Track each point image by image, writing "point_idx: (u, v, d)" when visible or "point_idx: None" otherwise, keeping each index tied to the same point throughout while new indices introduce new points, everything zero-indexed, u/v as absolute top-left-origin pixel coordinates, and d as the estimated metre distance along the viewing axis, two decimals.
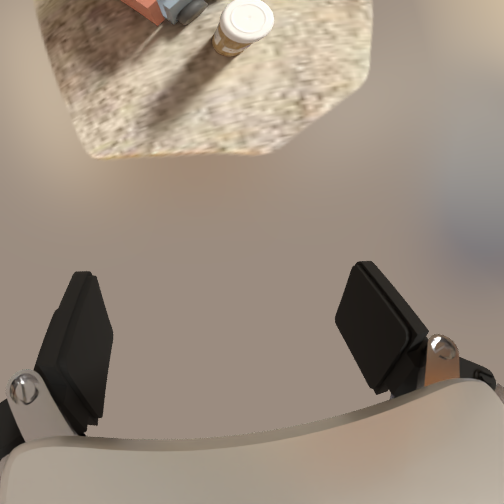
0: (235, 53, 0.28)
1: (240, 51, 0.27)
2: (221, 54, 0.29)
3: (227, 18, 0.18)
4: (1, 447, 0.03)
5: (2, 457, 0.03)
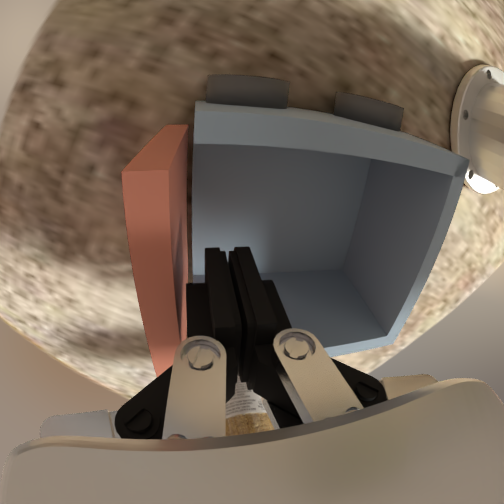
0: None
1: None
2: None
3: None
4: None
5: None
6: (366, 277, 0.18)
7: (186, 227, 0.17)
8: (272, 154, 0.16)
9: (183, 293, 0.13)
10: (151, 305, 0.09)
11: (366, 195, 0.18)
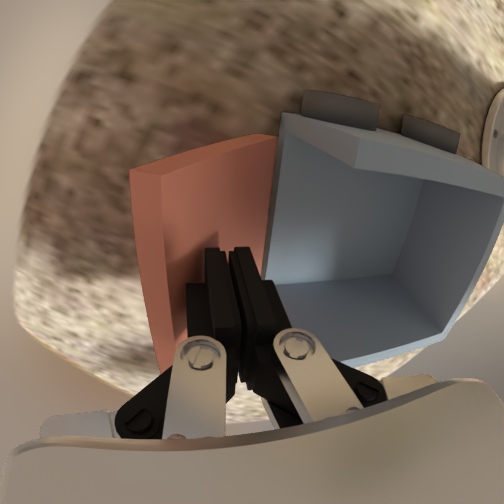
0: None
1: None
2: None
3: None
4: None
5: None
6: (420, 281, 0.18)
7: (261, 240, 0.17)
8: (350, 170, 0.16)
9: None
10: (151, 296, 0.09)
11: (420, 207, 0.18)
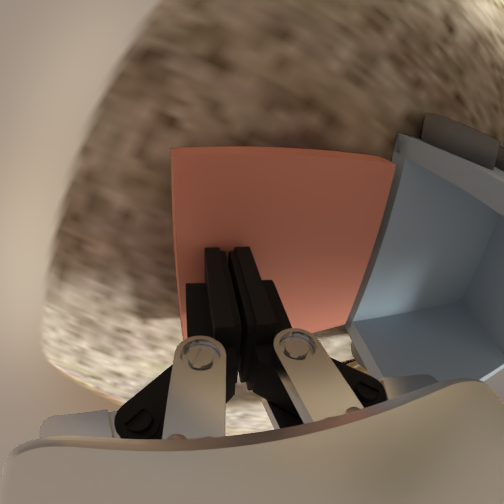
0: None
1: None
2: None
3: None
4: None
5: None
6: (490, 310, 0.15)
7: (354, 277, 0.14)
8: (451, 201, 0.13)
9: None
10: (175, 261, 0.11)
11: (495, 237, 0.15)
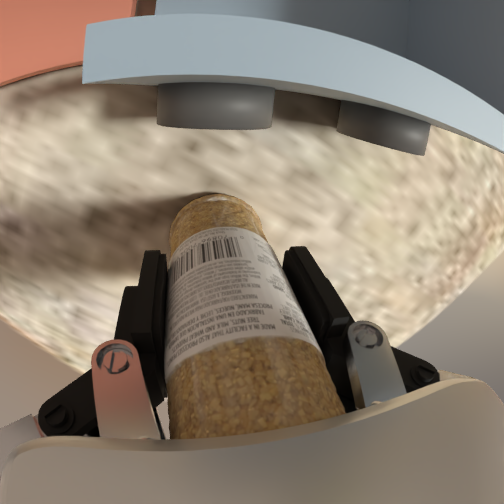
0: None
1: None
2: None
3: None
4: (85, 423, 0.05)
5: (82, 435, 0.05)
6: (450, 71, 0.07)
7: None
8: None
9: (9, 25, 0.05)
10: None
11: None
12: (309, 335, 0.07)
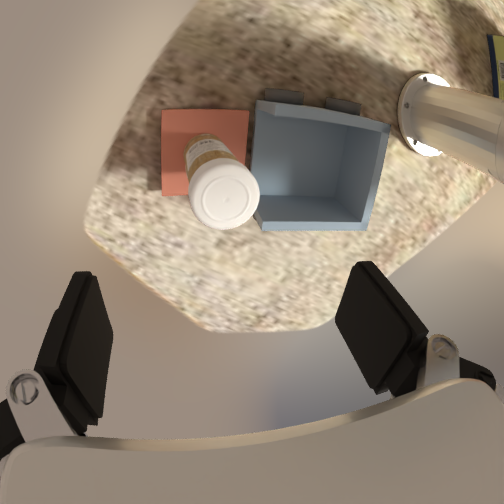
0: None
1: None
2: (184, 161, 0.28)
3: (205, 182, 0.17)
4: (1, 447, 0.03)
5: (2, 457, 0.03)
6: (347, 195, 0.32)
7: None
8: (294, 128, 0.30)
9: None
10: None
11: (344, 151, 0.32)
12: None
